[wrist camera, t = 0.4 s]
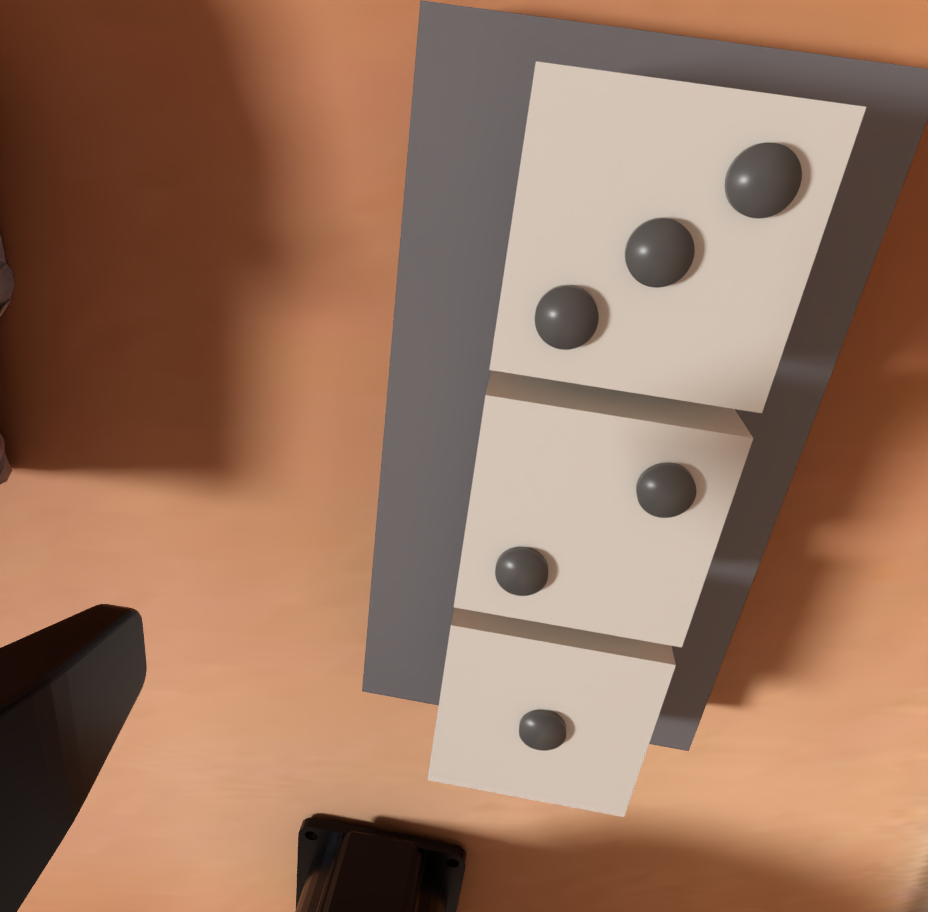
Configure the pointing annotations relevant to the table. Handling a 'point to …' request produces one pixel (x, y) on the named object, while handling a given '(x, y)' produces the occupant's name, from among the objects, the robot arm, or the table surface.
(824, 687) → the table surface
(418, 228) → the keypad board
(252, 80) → the table surface
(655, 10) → the table surface
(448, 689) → the key one
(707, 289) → the key three
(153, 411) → the table surface
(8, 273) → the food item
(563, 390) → the key two
